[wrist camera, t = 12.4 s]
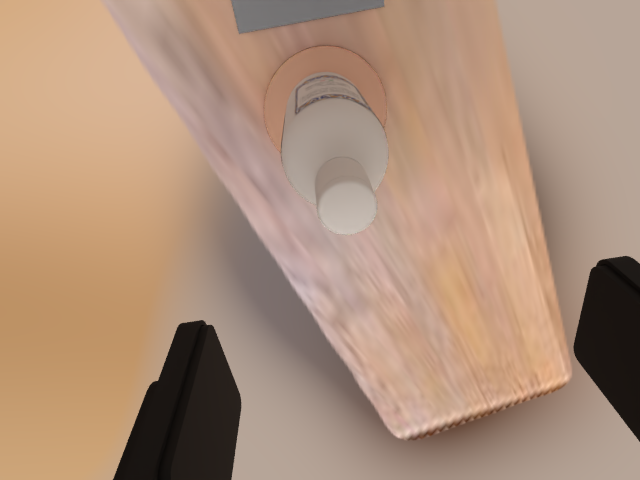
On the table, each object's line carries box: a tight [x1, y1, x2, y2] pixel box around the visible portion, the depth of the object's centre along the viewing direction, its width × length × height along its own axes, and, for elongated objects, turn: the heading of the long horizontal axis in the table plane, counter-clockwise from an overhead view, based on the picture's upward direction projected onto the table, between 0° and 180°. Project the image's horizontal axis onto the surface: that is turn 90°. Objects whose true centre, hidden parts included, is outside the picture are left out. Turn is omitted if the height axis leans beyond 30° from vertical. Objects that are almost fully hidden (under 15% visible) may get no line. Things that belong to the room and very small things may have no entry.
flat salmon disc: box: [264, 46, 387, 153], centre depth 37 cm, size 11×11×1 cm
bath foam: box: [281, 72, 388, 235], centre depth 28 cm, size 7×7×20 cm
